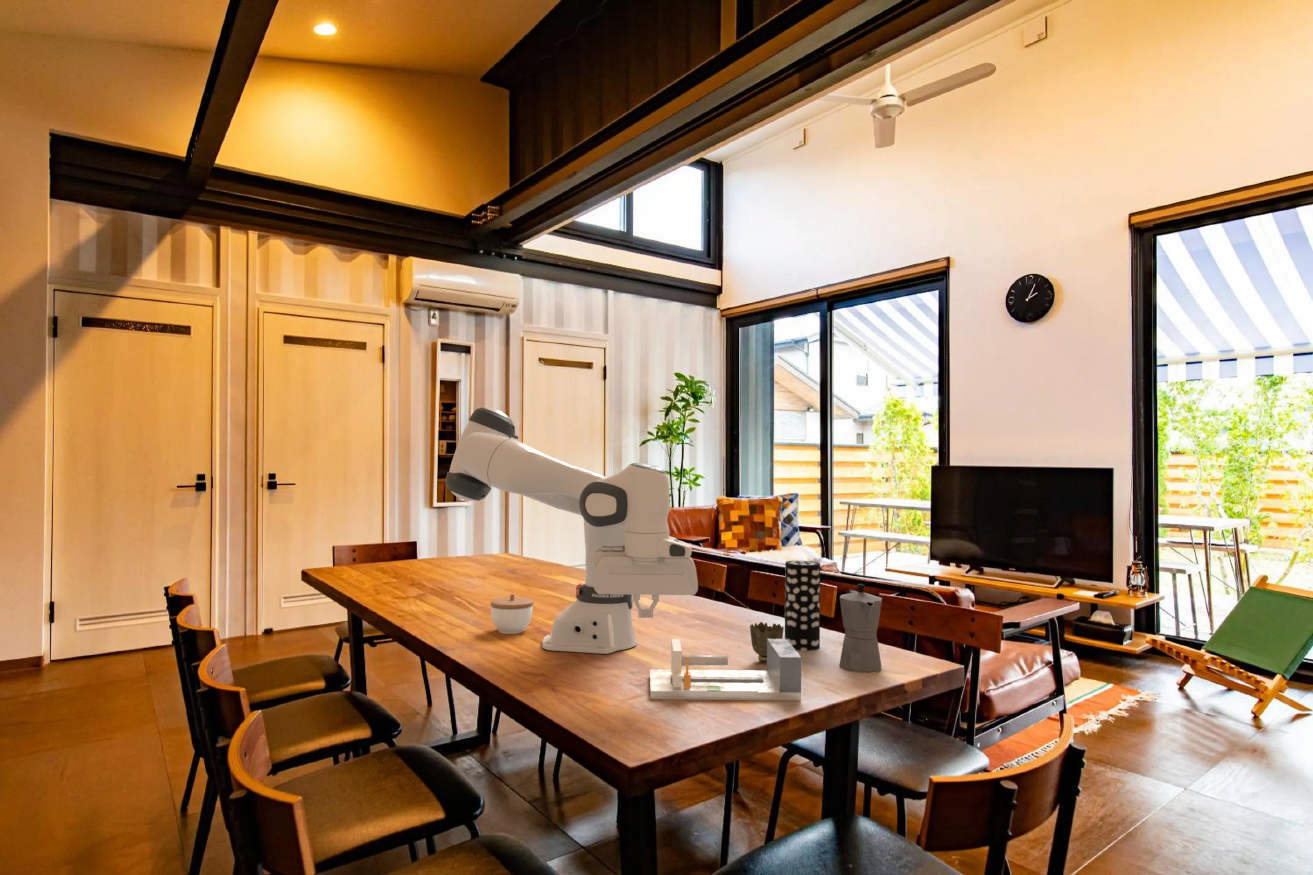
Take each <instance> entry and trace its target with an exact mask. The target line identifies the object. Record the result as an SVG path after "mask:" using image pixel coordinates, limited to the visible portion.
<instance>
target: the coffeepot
mask: <svg viewBox="0 0 1313 875" xmlns="http://www.w3.org/2000/svg"><path fill="white" fill-rule="evenodd" d="M856 586H857V590H858V591H856V590H854V589H852V588H849V589H848V590H847V592H846V593H845V594H843V593H842V594H841V595H840V596H839V603H840V612H841V618H842V626H843V628H844V636H843V641H842V648H841V653H840V659H839V667H841V668H842V669H844V670H847V671H850V672H854V673H862V674H863V673H867V674H869V673H877V672H879V671H881V670H882V661H881V654H880V650H879V649H880V648H879V643H878V638H877V633H878V632H877V631H878V628H879V621H880V616H881V609H882V608H881V607H882V602H883V598H882V597H881V596H876V595H874V594H872V593H871V594H870V593H867V592H864V591H865V584H863V583H857V585H856Z"/></svg>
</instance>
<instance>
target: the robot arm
mask: <svg viewBox="0 0 1313 875" xmlns="http://www.w3.org/2000/svg"><path fill="white" fill-rule="evenodd" d="M518 440H519V436H518V435H517V434H516V427H515V425H514V422H513V420H512V419H511V418H510V417H509V416H508V415H507V414H506V413H504V411H502V410H500V409H497V408H493V407H478V408H476V409H475V410H474V411H473V412H472V414H471V415H470V417H469V418H468V423H467V424H466V426H465V428H464V430H463V431H462V433H461V436H460V437H459V440H458V442H457V444H456V445H457V446H456V449H455V452H454V455H453V458H452V460H451V464H450V468H449V471H447V473H446V476H445V485H446V487H447V490H448V491H450V492H451V493H452V494H453V495H454V496H455V497H457V498H459V499H460V500H463V501H469V502H470V501H471V502H473V501H478V502H479V501H482V500H484V499H486V497H487V496H488V495H489V494H490V492H491V490H492V487H493V488H496V489H497V490H500V491H503V492H506V493H510V494H517V495H522V496H525V497H527V498H529V499H532V500H534V501H537V502H538V503H542V504H545V505H547V506H550V507H553V508H555V509H558V510H562V511H565V512H569V513H573V514H575V515H578V516H582V518H583V529H584V545H585V547H584V548H585V568H584V569H585V570H584V571H585V574H584V576H585V577H584V583H583V582H582V583H581V582H579V583H577V585H576V587H575V590H576V591H575V592H576V594H575V598H576V600H574V602H572V603H571V604H570V605H568V606H567V607H566V608H564V609H563V610H562V611H561V612H560V613H558V614H557V615H556V616H555V618H554V620H553V624H552V628H551V632H550V633H549V634H547V635H545V636H544V637H543V638H542V642H541V646H542V649H545V651H557V652H558V651H559V652H574V653H587V654H589V653H590V654H603V655H605V654H606V655H607V654H611V653H614V652H618V651H623V650H627V649H631V648H633V647H635V646H636V645H637V644H638V643H637V638H636V635H635V630H634V624H633V614H632V612H633V611H632V608H633V606H634V605H635V606H636V608H637V610H638V612H637V613H638V615H637V616H638V619H654V609H655V608H656V606H657V605H658V603H659V601H660V596H694V595H696V593H697V592H698V590H699V582H698V575H697V574H698V573H697V567H696V564H695V561H694V560H693V558H692V557H691V556H692V551H693V550H692V549H693V548H692V547H691V545H690V544H688V543H687V542H684V541H681V540H678V539H676V538H671V537H670V527H669V524H668V523H669V522H668V517H669V512H670V485H669V478H668V474H667V473H666V471H665V470H664V469H663V468H662V467H660V466H658V465H653V464H651V463H650V464H648V463H641V462H632V463H630V464H628V465H627V466H625V468H624V469H623V470H621V471H619V472H617V473H615V474H613V475H611V476H608V477H607V476H604V475H602V474H599V473H596V472H592V471H590V470H586V469H584V468H581V467H578V466H576V465H572V464H570V463H567V462H565V461H562V460H559V459H557V458H554V457H553V456H550V455H548V454H546V453H543V452H542V451H540V450H538V449H536V448H534V447H532V446H529V445H528V444H525V443H523V442H521V441H518ZM643 595H645V596H646V595H647V596H651V600H652V603H651V604H650V606H647V607H645V606H644V607H643V606H642V605H641V603H640V600H641V596H643Z"/></svg>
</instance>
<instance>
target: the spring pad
mask: <svg viewBox="0 0 1313 875" xmlns="http://www.w3.org/2000/svg"><path fill="white" fill-rule="evenodd" d="M670 640H671V644H670V646H671V647H670V648H671V650H670V663H671V664H670V670H671V673H672V680H673V687H682V673H681V670H683V669H682V667H686V656H689V666H688V667H691V666H692V667H728V665H729V658H728V655H721V654H720V655H718V654H717V655H713V654H712V655H710V654H709V655H707V654H705V655H704V654H702V655H701V654H696V655H694V654H682V652H683V650H682V646H681V640H680V638H673V639H670Z"/></svg>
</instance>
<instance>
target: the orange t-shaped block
mask: <svg viewBox="0 0 1313 875" xmlns="http://www.w3.org/2000/svg"><path fill="white" fill-rule="evenodd" d="M689 667H690V666H689V656H686V666H685V670H686V672H684V680H683V685H684V688H691V674H690V672H688V670H689Z"/></svg>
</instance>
